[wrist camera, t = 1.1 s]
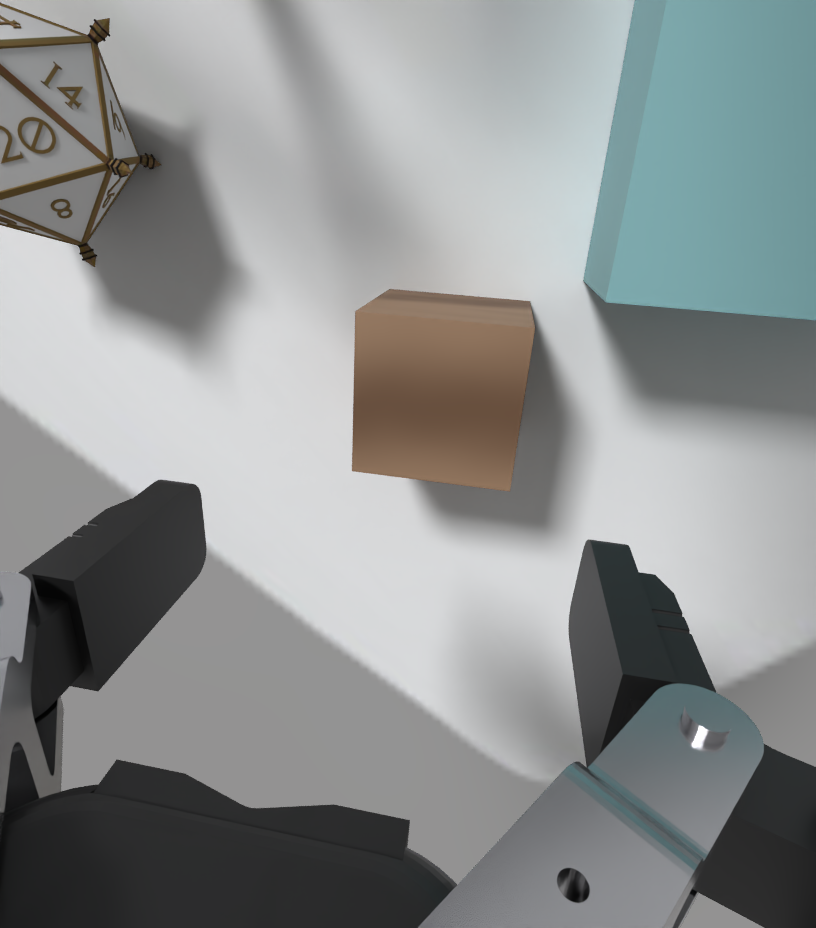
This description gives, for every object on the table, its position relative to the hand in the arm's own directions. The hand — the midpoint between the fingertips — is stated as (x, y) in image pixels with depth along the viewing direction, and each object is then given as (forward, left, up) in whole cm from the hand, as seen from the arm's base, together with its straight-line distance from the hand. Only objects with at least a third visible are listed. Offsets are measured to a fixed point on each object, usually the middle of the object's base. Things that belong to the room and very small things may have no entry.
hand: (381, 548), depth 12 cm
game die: (-8, -16, -15) cm, 24 cm away
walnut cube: (0, 0, -15) cm, 15 cm away
